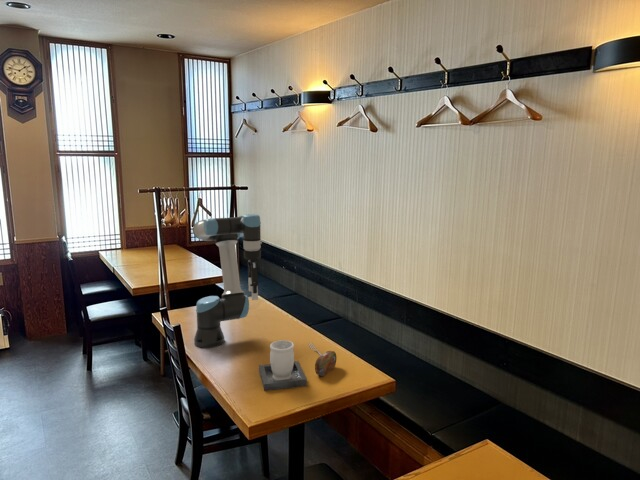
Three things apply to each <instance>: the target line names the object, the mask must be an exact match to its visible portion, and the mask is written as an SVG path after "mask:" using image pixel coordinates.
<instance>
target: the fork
mask: <svg viewBox="0 0 640 480" xmlns="http://www.w3.org/2000/svg"><path fill="white" fill-rule="evenodd" d="M307 345H308V347H309V349H310V350H315V349H316V350H315V352H317V353H318V354H319V357H320V356H321V355H323V354H322V353H321V352H320V351H319V350H317V347H316V346H315V345H314V343H313V342H309V343H307Z"/></svg>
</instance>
